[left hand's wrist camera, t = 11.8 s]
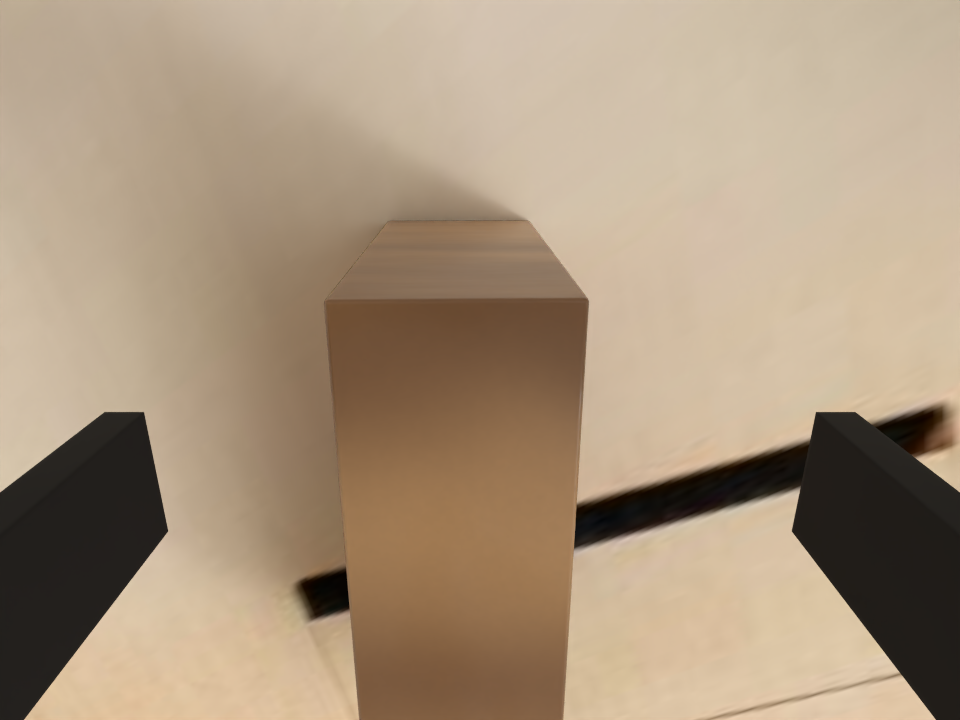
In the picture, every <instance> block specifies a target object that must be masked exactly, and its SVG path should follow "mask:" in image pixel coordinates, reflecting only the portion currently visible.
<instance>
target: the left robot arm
mask: <svg viewBox="0 0 960 720" xmlns="http://www.w3.org/2000/svg"><path fill="white" fill-rule="evenodd" d="M167 532H168V528H167V523H166V518H165V513H164V509H163V504H162V499H161V494H160V489H159V484H158V479H157V474H156V469H155V464H154V459H153V455H152V450H151V445H150V440H149V435H148V430H147V425H146V420H145V415H144V412H104V413H103V414H102V415H100V416H99V417H98V418H96V419H95V420H94V421H93V422H91V423H90V424H89V425H87V426H86V427H85V428H83V429H82V430H81V431H80V432H78V433H77V434H76V435H74V436H73V437H72V438H70V439H69V440H68V441H67V442H65V443H64V444H63V445H61V446H60V447H59V448H57V449H56V450H55V451H54V452H52V453H51V454H50V455H48V456H47V457H46V458H44V459H43V460H42V461H41V462H39V463H38V464H37V465H35V466H34V467H33V468H31V469H30V470H29V471H28V472H26V473H25V474H24V475H22V476H21V477H20V478H18V479H17V480H16V481H15V482H13V483H12V484H11V485H9V486H8V487H7V488H5V489H4V490H3V491H2V492H0V720H24V719H25V718H26V716H27V715H28V714H29V712H30V711H31V710H32V708H33V707H34V706H35V705H36V703H37V702H38V701H39V699H40V698H41V697H42V695H43V694H44V693H45V691H46V690H47V689H48V688H49V686H50V685H51V684H52V682H53V681H54V680H55V678H56V677H57V676H58V675H59V673H60V672H61V671H62V669H63V668H64V667H65V665H66V664H67V663H68V661H69V660H70V659H71V658H72V656H73V655H74V654H75V652H76V651H77V650H78V648H79V647H80V646H81V644H82V643H83V642H84V641H85V639H86V638H87V637H88V635H89V634H90V633H91V631H92V630H93V629H94V627H95V626H96V625H97V624H98V622H99V621H100V620H101V618H102V617H103V616H104V614H105V613H106V612H107V610H108V609H109V608H110V607H111V605H112V604H113V603H114V601H115V600H116V599H117V597H118V596H119V595H120V593H121V592H122V591H123V590H124V588H125V587H126V586H127V584H128V583H129V582H130V580H131V579H132V578H133V576H134V575H135V574H136V573H137V571H138V570H139V569H140V567H141V566H142V565H143V563H144V562H145V561H146V560H147V558H148V557H149V556H150V554H151V553H152V552H153V550H154V549H155V548H156V546H157V545H158V544H159V543H160V541H161V540H162V539H163V537H164V536H165V535H166V533H167ZM792 532H793V533H794V535H795V536H796V537H797V539H798V540H799V541H800V543H801V544H802V545H803V546H804V548H805V549H806V550H807V552H808V553H809V554H810V556H811V557H812V558H813V560H814V561H815V562H816V563H817V565H818V566H819V567H820V569H821V570H822V571H823V573H824V574H825V575H826V576H827V578H828V579H829V580H830V582H831V583H832V584H833V586H834V587H835V588H836V590H837V591H838V592H839V593H840V595H841V596H842V597H843V599H844V600H845V601H846V603H847V604H848V605H849V607H850V608H851V609H852V610H853V612H854V613H855V614H856V616H857V617H858V618H859V620H860V621H861V622H862V624H863V625H864V626H865V627H866V629H867V630H868V631H869V633H870V634H871V635H872V637H873V638H874V639H875V641H876V642H877V643H878V644H879V646H880V647H881V648H882V650H883V651H884V652H885V654H886V655H887V656H888V658H889V659H890V660H891V661H892V663H893V664H894V665H895V667H896V668H897V669H898V671H899V672H900V673H901V675H902V676H903V677H904V678H905V680H906V681H907V682H908V684H909V685H910V686H911V688H912V689H913V690H914V691H915V693H916V694H917V695H918V697H919V698H920V699H921V701H922V702H923V703H924V705H925V706H926V707H927V708H928V710H929V711H930V712H931V714H932V715H933V716H934V718H935V719H936V720H960V492H958V491H957V490H956V489H955V488H953V487H952V486H951V485H949V484H948V483H947V482H945V481H944V480H943V479H942V478H940V477H939V476H938V475H936V474H935V473H934V472H932V471H931V470H930V469H929V468H927V467H926V466H925V465H923V464H922V463H921V462H919V461H918V460H917V459H916V458H914V457H913V456H912V455H910V454H909V453H908V452H906V451H905V450H904V449H903V448H901V447H900V446H899V445H897V444H896V443H895V442H893V441H892V440H891V439H890V438H888V437H887V436H886V435H884V434H883V433H882V432H880V431H879V430H878V429H877V428H875V427H874V426H873V425H871V424H870V423H869V422H867V421H866V420H865V419H864V418H862V417H861V416H860V415H858V414H857V413H856V412H816V415H815V420H814V425H813V430H812V435H811V440H810V445H809V450H808V455H807V459H806V464H805V469H804V474H803V479H802V484H801V489H800V494H799V499H798V504H797V509H796V513H795V518H794V523H793V528H792Z"/></svg>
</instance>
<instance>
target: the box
mask: <svg viewBox="0 0 960 720" xmlns="http://www.w3.org/2000/svg"><path fill="white" fill-rule="evenodd" d="M588 308H589V301H588V298H587V297H586V296H585V294H584V293H583V292H582V290H581V289H580V288H579V286H578V285H577V284H576V282H575V281H574V280H573V279H572V277H571V276H570V275H569V273H568V272H567V271H566V269H565V268H564V267H563V265H562V264H561V263H560V261H559V260H558V259H557V257H556V256H555V255H554V253H553V252H552V251H551V249H550V248H549V247H548V245H547V244H546V243H545V241H544V240H543V239H542V237H541V236H540V235H539V233H538V232H537V231H536V229H535V228H534V227H533V225H532V224H531V223H530V221H388V222H387V223H386V225H385V226H384V227H383V228H382V230H381V231H380V232H379V233H378V235H377V236H376V237H375V238H374V240H373V241H372V242H371V243H370V245H369V246H368V247H367V248H366V250H365V251H364V252H363V253H362V255H361V256H360V257H359V258H358V260H357V261H356V262H355V263H354V265H353V266H352V267H351V268H350V270H349V271H348V272H347V273H346V275H345V276H344V277H343V278H342V280H341V281H340V282H339V283H338V285H337V286H336V287H335V288H334V290H333V291H332V292H331V293H330V295H329V296H328V297H327V298H326V300H325V302H324V310H325V321H326V333H327V345H328V357H329V369H330V380H331V392H332V404H333V416H334V428H335V439H336V451H337V463H338V475H339V487H340V498H341V510H342V522H343V534H344V545H345V557H346V569H347V581H348V593H349V604H350V616H351V628H352V640H353V652H354V663H355V675H356V687H357V699H358V711H359V720H563V714H564V698H565V682H566V666H567V649H568V633H569V617H570V601H571V584H572V568H573V552H574V536H575V519H576V503H577V487H578V471H579V454H580V438H581V422H582V406H583V389H584V373H585V357H586V341H587V324H588Z"/></svg>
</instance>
